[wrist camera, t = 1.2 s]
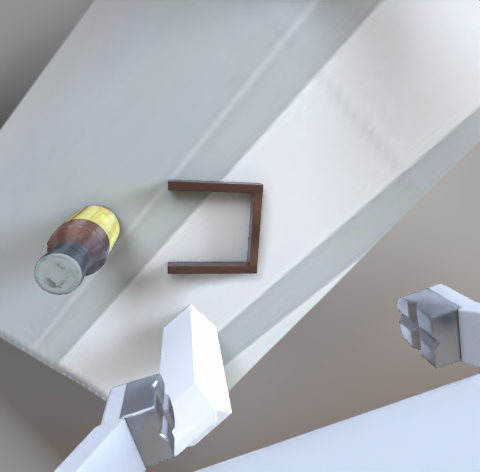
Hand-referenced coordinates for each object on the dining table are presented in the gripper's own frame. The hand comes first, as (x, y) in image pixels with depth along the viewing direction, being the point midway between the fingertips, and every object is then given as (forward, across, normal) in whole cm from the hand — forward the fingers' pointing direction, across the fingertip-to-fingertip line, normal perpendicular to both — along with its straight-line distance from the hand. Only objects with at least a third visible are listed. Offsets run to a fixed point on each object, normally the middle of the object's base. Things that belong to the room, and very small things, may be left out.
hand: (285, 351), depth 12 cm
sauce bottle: (+42, +16, +1) cm, 45 cm away
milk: (+42, +8, +21) cm, 48 cm away
